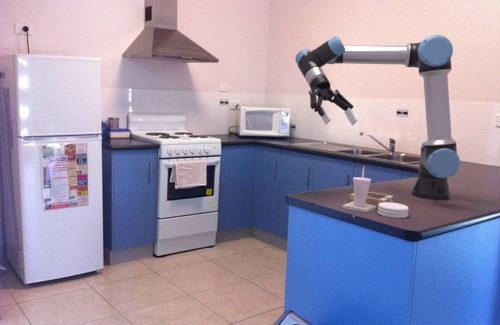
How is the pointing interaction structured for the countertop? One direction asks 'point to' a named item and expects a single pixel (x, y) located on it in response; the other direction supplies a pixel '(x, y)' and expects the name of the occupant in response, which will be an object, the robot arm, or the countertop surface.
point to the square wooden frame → (375, 198)
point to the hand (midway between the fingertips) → (341, 122)
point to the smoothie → (361, 189)
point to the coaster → (393, 210)
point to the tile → (366, 208)
